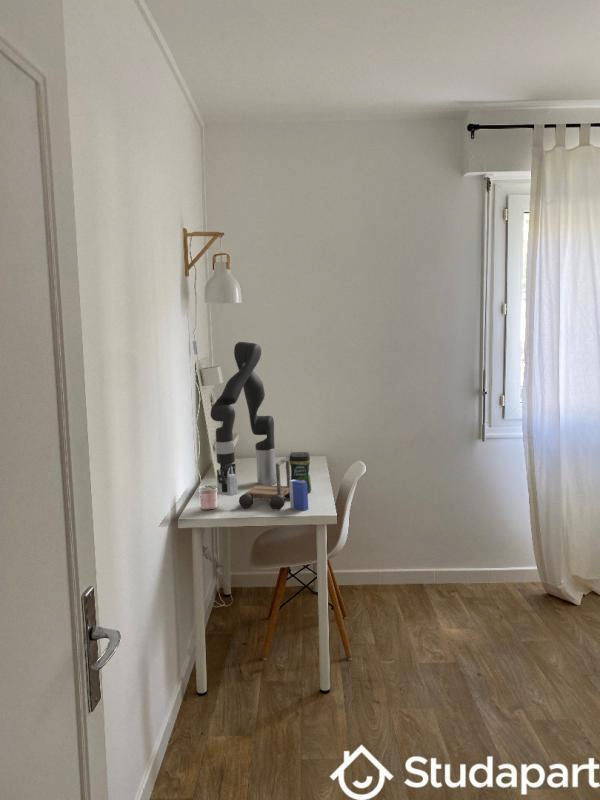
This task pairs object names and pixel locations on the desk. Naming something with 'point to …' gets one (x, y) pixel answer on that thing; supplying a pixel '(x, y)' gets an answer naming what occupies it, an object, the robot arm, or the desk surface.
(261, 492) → the trolley
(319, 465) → the desk surface
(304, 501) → the walkman
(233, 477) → the medicine box
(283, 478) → the desk surface
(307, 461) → the coffee jar
